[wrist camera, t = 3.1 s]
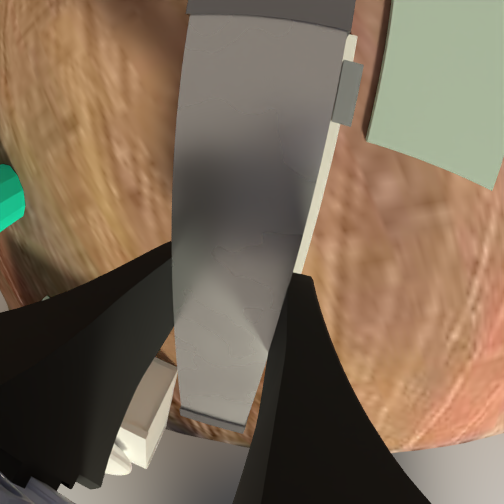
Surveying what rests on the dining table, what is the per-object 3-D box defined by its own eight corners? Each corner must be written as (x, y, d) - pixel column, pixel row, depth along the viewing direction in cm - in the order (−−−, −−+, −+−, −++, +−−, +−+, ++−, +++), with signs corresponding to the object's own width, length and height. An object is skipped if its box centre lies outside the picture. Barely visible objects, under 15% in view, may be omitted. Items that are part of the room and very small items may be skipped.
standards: (356, 40, 10) (370, 21, 7) (286, 321, 20) (276, 368, 17) (250, 22, 11) (225, -1, 8) (215, 303, 21) (194, 346, 17)
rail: (345, 21, 5) (357, -9, 3) (254, 392, 14) (242, 434, 12) (229, 6, 6) (193, -23, 4) (197, 376, 14) (180, 416, 12)
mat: (514, -32, 3) (518, -34, 3) (487, 187, 12) (492, 190, 12) (396, -93, 4) (398, -97, 4) (365, 139, 13) (367, 141, 13)
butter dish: (70, 368, 37) (22, 442, 24) (46, 291, 27) (-37, 387, 14) (168, 421, 37) (129, 509, 23) (181, 364, 27) (114, 505, 13)
